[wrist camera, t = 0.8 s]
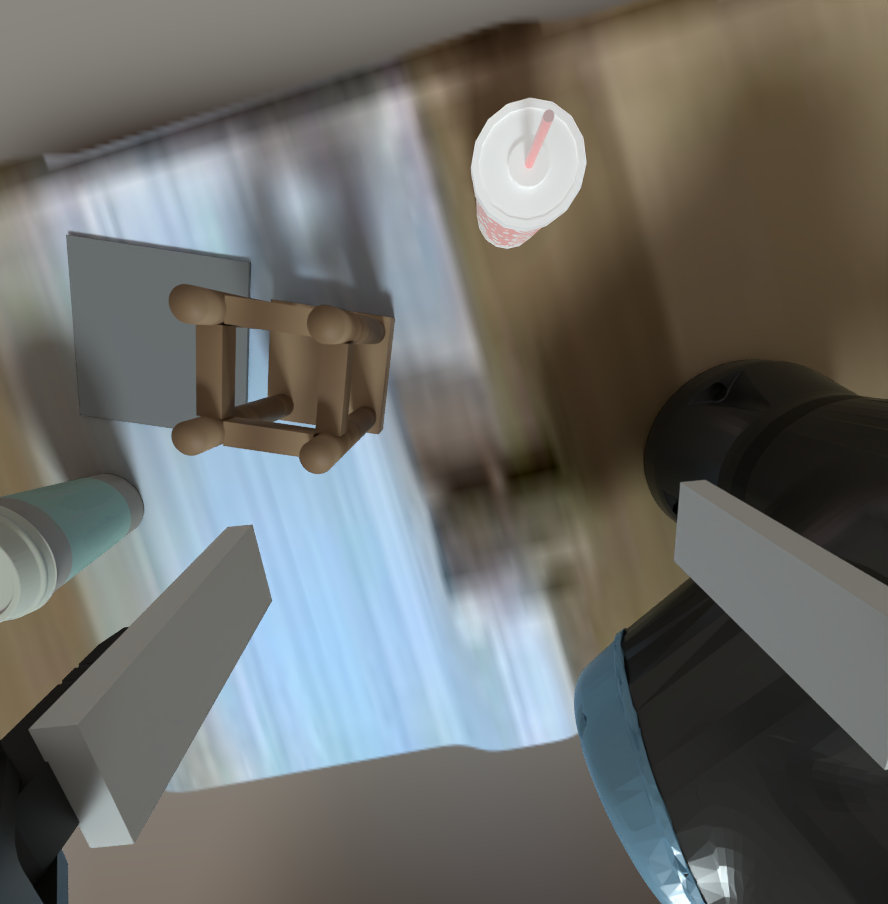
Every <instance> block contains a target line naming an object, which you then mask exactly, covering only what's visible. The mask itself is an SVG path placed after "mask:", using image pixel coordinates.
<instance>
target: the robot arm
mask: <svg viewBox="0 0 888 904" xmlns="http://www.w3.org/2000/svg"><path fill="white" fill-rule="evenodd" d="M645 474H646V479H647V483H648V486H649V489H650V492H651V494H652V496H653V498H654V500H655V501H656V503H657V504H658V506H659V507H660V508H661V509H662V510H663V512H664V513H665V514H666V515H668V516H669V517H670V518H671V519H672V520H673V521H675V522H676V523H677V529H676V542H675V554H674V561H675V562H676V563H677V564H678V565H679V566H680V567H681V568H682V569H683V570H684V571H685V572H686V573H687V574H688V575H689V576H690V578H689V579H688V580H686V581H685V582H684V583H683V584H681V585H680V586H679V587H678V588H677V589H675V590H674V591H673V592H672V593H670V594H669V595H668V596H667V597H666V598H664V599H663V600H662V601H661V602H659V603H658V604H657V605H656V606H655V607H653V608H652V609H651V610H650V611H648V612H647V613H646V614H645V615H644V616H642V617H641V618H640V619H639V620H637V621H636V622H635V623H634V624H633V625H631V626H630V627H629V628H628V629H627V628H625V629H623V630H621V631H620V632H619V633H617V634H616V636H615V640H614V641H613V642H612V643H611V644H610V645H609V646H608V647H607V648H606V649H605V650H604V651H602V652H601V653H600V654H599V655H598V656H597V657H596V658H595V659H594V660H593V661H592V662H591V663H589V664H588V665H587V666H586V667H585V668H584V670H583V671H582V673H581V674H580V676H579V678H578V681H577V684H576V688H575V695H574V710H575V719H576V725H577V729H578V733H579V736H580V740H581V747H582V750H583V754H584V757H585V760H586V763H587V766H588V768H589V771H590V774H591V777H592V780H593V782H594V785H595V787H596V789H597V792H598V795H599V797H600V799H601V801H602V804H603V806H604V808H605V810H606V813H607V815H608V817H609V819H610V821H611V823H612V825H613V827H614V829H615V831H616V833H617V834H618V836H619V838H620V840H621V842H622V844H623V846H624V848H625V849H626V851H627V853H628V854H629V856H630V858H631V859H632V861H633V863H634V865H635V866H636V868H637V870H638V871H639V873H640V874H641V876H642V877H643V879H644V881H645V882H646V884H647V885H648V886H649V888H650V889H651V891H652V892H653V893H654V895H655V896H656V897H657V898H658V900H659V901H660V902H661V903H662V904H888V399H880V398H870V397H863V396H859V395H857V394H855V393H854V392H852V391H850V390H848V389H847V388H845V387H843V386H841V385H839V384H838V383H836V382H834V381H832V380H831V379H829V378H827V377H825V376H824V375H822V374H820V373H818V372H816V371H814V370H812V369H810V368H807V367H805V366H801V365H798V364H794V363H790V362H784V361H773V360H740V361H734V362H730V363H726V364H722V365H719V366H717V367H714V368H712V369H709V370H707V371H705V372H703V373H701V374H700V375H698V376H696V377H695V378H693V379H692V380H690V381H689V382H688V383H686V384H685V385H684V386H682V387H681V388H680V389H679V390H678V391H677V392H676V393H675V394H674V395H673V396H672V397H671V398H670V399H669V400H668V402H667V403H666V404H665V406H664V407H663V408H662V410H661V411H660V413H659V414H658V416H657V418H656V420H655V422H654V424H653V426H652V428H651V431H650V433H649V437H648V440H647V444H646V450H645ZM271 602H272V598H271V594H270V590H269V587H268V583H267V579H266V575H265V571H264V567H263V563H262V560H261V556H260V552H259V548H258V544H257V540H256V536H255V533H254V529H253V525H244V526H234V527H227V528H226V529H225V530H224V531H223V532H222V533H221V534H220V535H219V536H218V537H217V538H216V539H215V540H214V541H213V542H212V543H211V544H210V545H209V546H208V547H207V548H206V549H205V550H204V551H203V553H202V554H201V555H200V556H199V557H198V558H197V559H196V560H195V561H194V562H193V563H192V564H191V565H190V566H189V567H188V568H187V569H186V570H185V571H184V572H183V573H182V574H181V575H180V576H179V577H178V578H177V579H176V580H175V581H174V582H173V583H172V584H171V585H170V586H169V587H168V588H167V589H166V590H165V591H164V592H163V593H162V594H161V595H160V596H159V597H158V598H157V599H156V600H155V601H154V602H153V603H152V604H151V605H150V606H149V607H148V608H147V609H146V610H145V611H144V612H143V613H142V614H141V615H140V617H139V618H138V619H137V620H136V621H135V622H134V623H133V624H132V625H131V626H130V627H125V628H123V629H121V630H120V631H118V632H117V633H115V634H114V635H112V636H111V637H109V638H108V639H106V640H105V641H103V642H102V643H101V644H99V645H98V646H97V647H96V648H95V649H94V650H93V651H92V652H91V653H90V654H89V655H88V656H87V657H86V658H85V659H84V660H83V661H82V662H80V663H79V667H78V668H74V669H73V670H72V671H71V672H70V673H69V674H68V675H67V676H66V677H65V678H64V679H63V680H62V684H59V685H57V686H56V687H55V688H54V689H53V690H52V691H51V692H50V693H49V694H48V695H47V696H46V697H45V698H44V699H43V700H42V701H41V702H40V703H38V704H37V705H36V706H35V707H34V708H33V709H32V710H31V711H30V712H29V713H28V714H27V715H26V716H25V717H24V718H23V719H22V720H21V721H20V722H19V723H18V724H17V725H16V726H15V727H14V728H13V729H12V730H11V731H10V732H9V733H8V734H7V735H6V736H5V737H4V738H3V739H2V740H0V904H68V863H67V860H66V858H65V855H64V853H63V851H62V847H63V846H64V845H65V843H66V842H67V840H68V839H69V837H70V836H71V834H72V833H73V832H74V830H75V829H76V827H77V826H78V825H79V827H80V829H81V831H82V833H83V835H84V836H85V839H86V840H87V842H88V844H89V846H90V848H96V847H106V846H115V845H126V844H134V843H135V841H136V840H137V838H138V836H139V834H140V833H141V831H142V829H143V827H144V826H145V824H146V822H147V820H148V819H149V817H150V815H151V813H152V811H153V810H154V808H155V806H156V804H157V803H158V801H159V799H160V797H161V796H162V794H163V792H164V790H165V789H166V787H167V785H168V783H169V782H170V780H171V778H172V776H173V774H174V773H175V771H176V769H177V767H178V766H179V764H180V762H181V760H182V759H183V757H184V755H185V753H186V752H187V750H188V748H189V746H190V745H191V743H192V741H193V739H194V737H195V736H196V734H197V732H198V730H199V729H200V727H201V725H202V723H203V722H204V720H205V718H206V716H207V715H208V713H209V711H210V709H211V707H212V706H213V704H214V702H215V700H216V699H217V697H218V695H219V693H220V692H221V690H222V688H223V686H224V685H225V683H226V681H227V679H228V678H229V676H230V674H231V672H232V670H233V669H234V667H235V665H236V663H237V662H238V660H239V658H240V656H241V655H242V653H243V651H244V649H245V648H246V646H247V644H248V642H249V641H250V639H251V637H252V635H253V633H254V632H255V630H256V628H257V626H258V625H259V623H260V621H261V619H262V618H263V616H264V614H265V612H266V611H267V609H268V607H269V605H270V603H271Z"/></svg>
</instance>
